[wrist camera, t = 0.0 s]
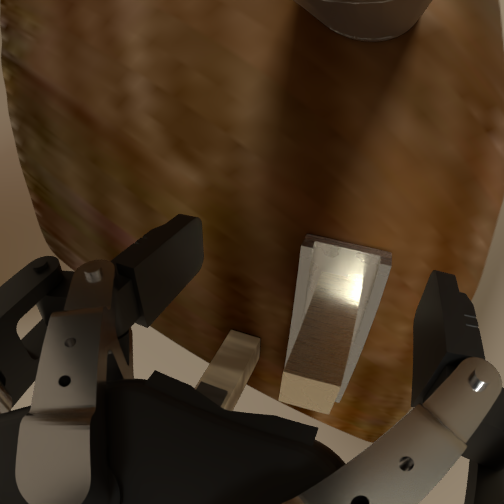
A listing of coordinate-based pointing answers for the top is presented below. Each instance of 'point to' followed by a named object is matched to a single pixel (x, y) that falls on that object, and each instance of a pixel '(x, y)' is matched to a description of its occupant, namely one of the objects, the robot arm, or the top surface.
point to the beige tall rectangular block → (230, 369)
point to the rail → (330, 319)
